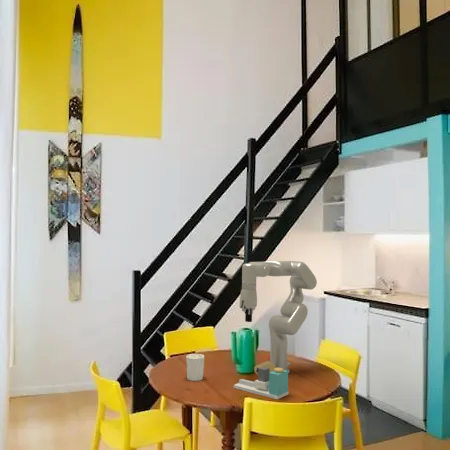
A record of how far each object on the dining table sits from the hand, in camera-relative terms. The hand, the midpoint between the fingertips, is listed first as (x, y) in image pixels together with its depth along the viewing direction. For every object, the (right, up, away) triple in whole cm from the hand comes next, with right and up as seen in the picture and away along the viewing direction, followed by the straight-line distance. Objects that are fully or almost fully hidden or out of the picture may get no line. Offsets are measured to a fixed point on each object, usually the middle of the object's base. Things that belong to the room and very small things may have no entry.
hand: (248, 321), depth 265 cm
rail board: (+5, -31, -17) cm, 36 cm away
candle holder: (-28, -31, +2) cm, 42 cm away
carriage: (+6, -29, -18) cm, 35 cm away
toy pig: (+9, -32, -1) cm, 33 cm away
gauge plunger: (+13, -25, -24) cm, 37 cm away
